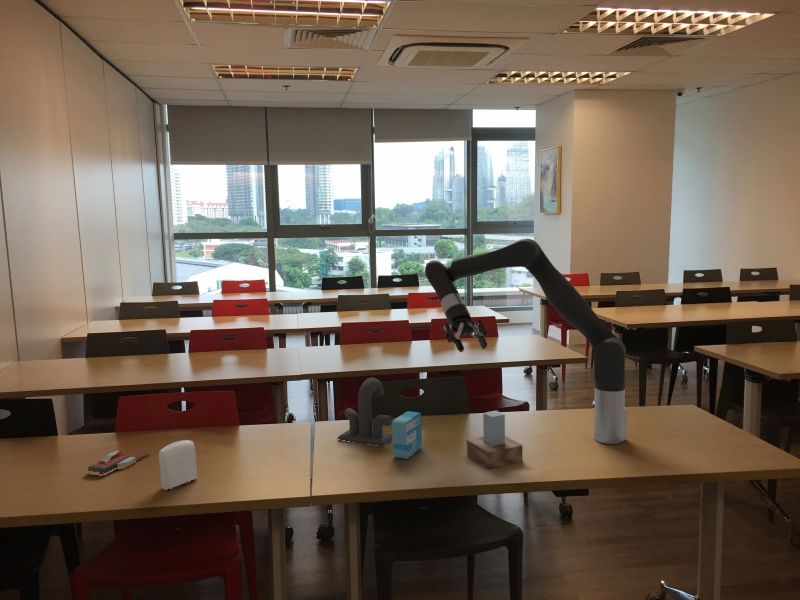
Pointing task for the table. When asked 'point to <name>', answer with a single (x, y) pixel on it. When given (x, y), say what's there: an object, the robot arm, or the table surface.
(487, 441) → the slate block
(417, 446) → the light blue box
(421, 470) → the table surface
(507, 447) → the walnut base
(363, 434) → the faucet
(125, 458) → the walkie-talkie
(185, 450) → the photo printer
